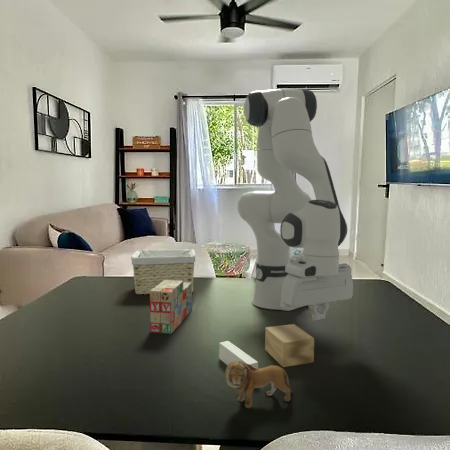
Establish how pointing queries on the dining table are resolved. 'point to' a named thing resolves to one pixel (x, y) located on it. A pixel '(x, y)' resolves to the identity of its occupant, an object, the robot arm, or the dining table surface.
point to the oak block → (289, 345)
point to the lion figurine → (256, 380)
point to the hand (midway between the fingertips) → (318, 319)
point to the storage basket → (162, 267)
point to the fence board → (234, 354)
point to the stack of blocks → (169, 305)
